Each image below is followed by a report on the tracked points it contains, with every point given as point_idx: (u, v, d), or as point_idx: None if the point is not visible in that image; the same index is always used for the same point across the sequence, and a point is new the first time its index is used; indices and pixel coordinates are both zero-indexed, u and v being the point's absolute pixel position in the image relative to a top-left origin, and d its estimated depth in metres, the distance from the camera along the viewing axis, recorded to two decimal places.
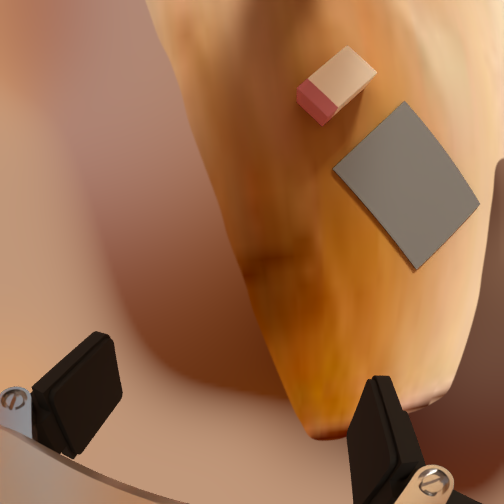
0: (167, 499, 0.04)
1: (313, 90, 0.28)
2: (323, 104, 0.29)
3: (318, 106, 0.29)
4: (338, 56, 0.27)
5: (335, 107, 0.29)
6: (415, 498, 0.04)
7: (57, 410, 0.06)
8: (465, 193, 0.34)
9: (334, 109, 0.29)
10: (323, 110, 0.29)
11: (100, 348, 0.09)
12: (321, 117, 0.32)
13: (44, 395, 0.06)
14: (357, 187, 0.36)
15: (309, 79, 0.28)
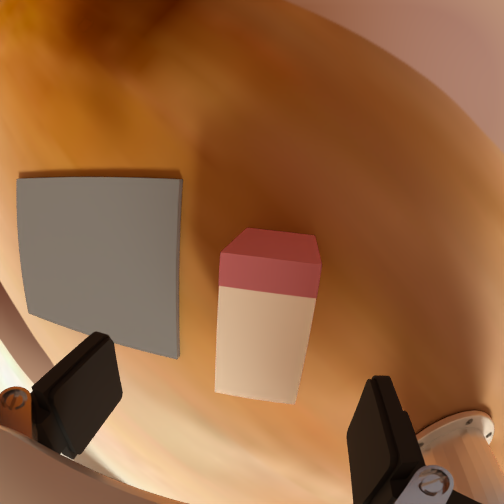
0: (167, 499, 0.04)
1: (287, 283, 0.14)
2: (248, 271, 0.14)
3: (253, 258, 0.14)
4: (293, 377, 0.15)
5: (223, 281, 0.14)
6: (415, 498, 0.04)
7: (57, 410, 0.06)
8: (43, 309, 0.25)
9: (221, 276, 0.14)
10: (238, 258, 0.14)
11: (100, 348, 0.09)
12: (244, 241, 0.16)
13: (44, 395, 0.06)
14: (130, 187, 0.21)
15: (311, 299, 0.14)
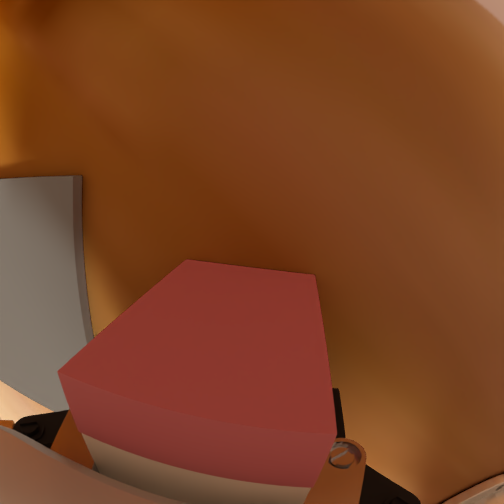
0: (167, 499, 0.04)
1: (233, 463, 0.04)
2: (127, 425, 0.04)
3: (132, 403, 0.04)
4: None
5: (84, 428, 0.04)
6: (329, 474, 0.05)
7: None
8: None
9: (78, 418, 0.04)
10: (96, 394, 0.04)
11: None
12: (150, 313, 0.07)
13: None
14: (17, 194, 0.11)
15: (298, 488, 0.04)
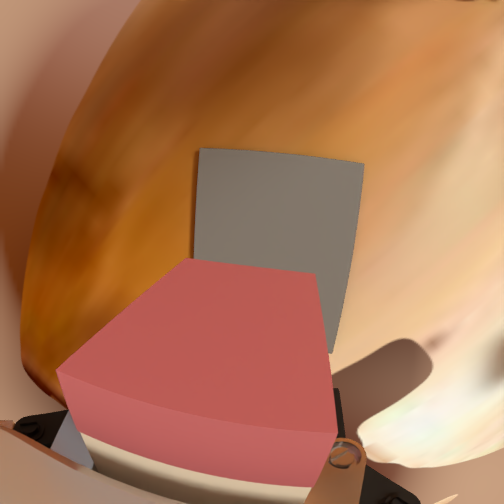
0: (167, 499, 0.04)
1: (232, 463, 0.04)
2: (126, 424, 0.04)
3: (130, 401, 0.04)
4: None
5: (82, 427, 0.04)
6: (329, 474, 0.05)
7: None
8: (325, 327, 0.28)
9: (77, 417, 0.04)
10: (95, 393, 0.04)
11: None
12: (150, 311, 0.07)
13: None
14: (204, 192, 0.26)
15: (298, 488, 0.04)
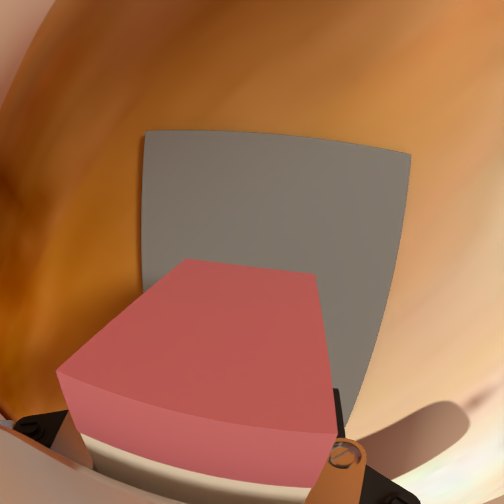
0: (167, 499, 0.04)
1: (232, 463, 0.04)
2: (126, 424, 0.04)
3: (130, 402, 0.04)
4: None
5: (82, 428, 0.04)
6: (329, 474, 0.05)
7: None
8: None
9: (77, 418, 0.04)
10: (95, 393, 0.04)
11: None
12: (150, 312, 0.07)
13: None
14: (153, 200, 0.16)
15: (298, 489, 0.04)
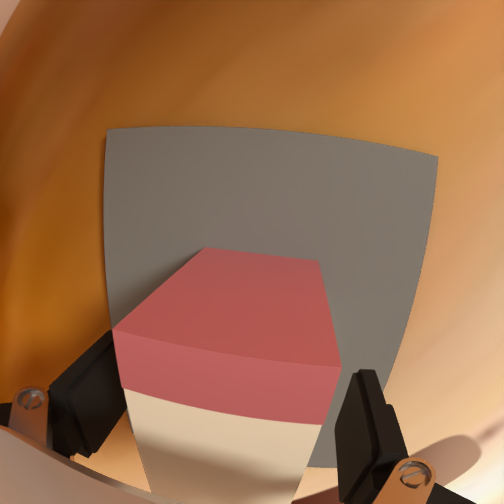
0: (167, 499, 0.04)
1: (259, 400, 0.06)
2: (172, 372, 0.06)
3: (179, 349, 0.06)
4: None
5: (128, 383, 0.06)
6: (397, 491, 0.05)
7: (75, 409, 0.07)
8: None
9: (124, 373, 0.06)
10: (148, 345, 0.06)
11: None
12: (183, 286, 0.08)
13: (62, 394, 0.07)
14: (116, 214, 0.13)
15: (311, 426, 0.06)
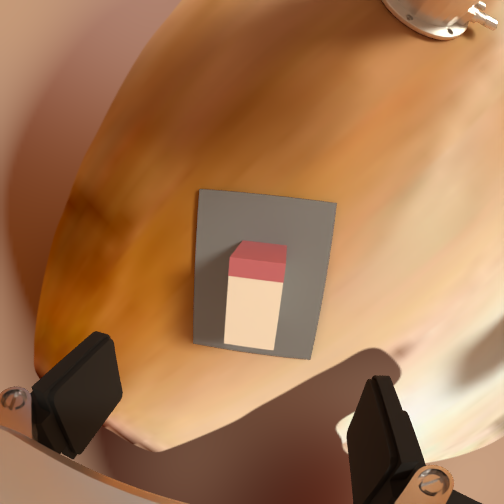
0: (167, 499, 0.04)
1: (266, 274, 0.25)
2: (245, 267, 0.25)
3: (248, 260, 0.25)
4: (272, 331, 0.26)
5: (231, 273, 0.25)
6: (415, 498, 0.04)
7: (57, 410, 0.06)
8: (304, 338, 0.33)
9: (230, 270, 0.25)
10: (239, 260, 0.25)
11: (100, 348, 0.09)
12: (242, 250, 0.28)
13: (44, 395, 0.06)
14: (203, 226, 0.32)
15: (280, 283, 0.25)
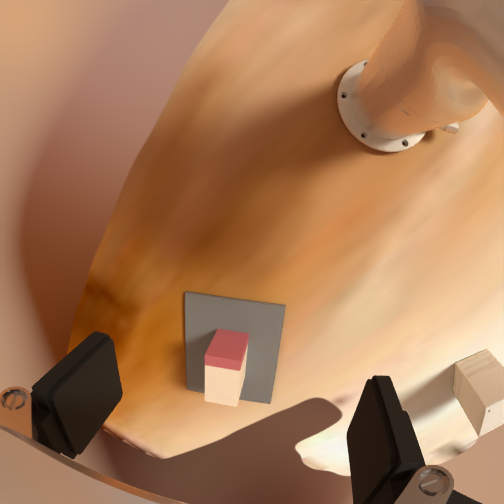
0: (167, 499, 0.04)
1: (229, 365, 0.36)
2: (215, 361, 0.36)
3: (216, 357, 0.36)
4: (235, 396, 0.38)
5: (206, 363, 0.37)
6: (415, 498, 0.04)
7: (57, 410, 0.06)
8: (264, 390, 0.45)
9: (205, 362, 0.37)
10: (211, 357, 0.36)
11: (100, 348, 0.09)
12: (214, 344, 0.39)
13: (44, 395, 0.06)
14: (189, 317, 0.43)
15: (238, 371, 0.36)
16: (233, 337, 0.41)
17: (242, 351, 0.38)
